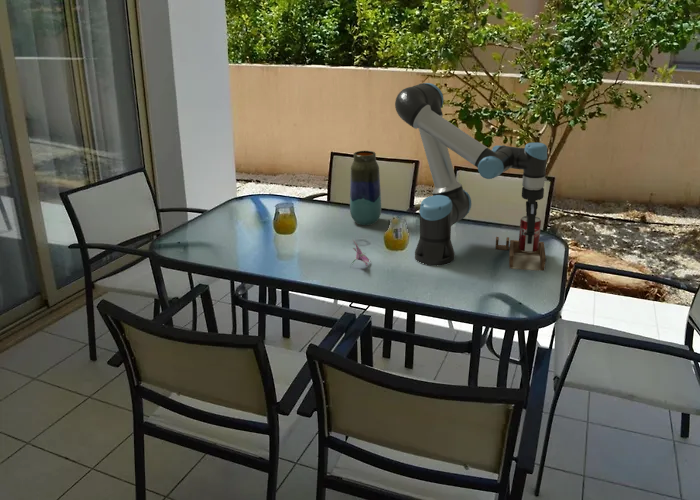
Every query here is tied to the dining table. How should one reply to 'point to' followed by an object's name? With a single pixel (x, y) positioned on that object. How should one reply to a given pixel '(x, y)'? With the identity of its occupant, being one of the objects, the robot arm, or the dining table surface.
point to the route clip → (502, 247)
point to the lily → (360, 255)
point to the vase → (365, 188)
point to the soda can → (524, 230)
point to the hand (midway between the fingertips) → (528, 246)
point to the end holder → (526, 257)
